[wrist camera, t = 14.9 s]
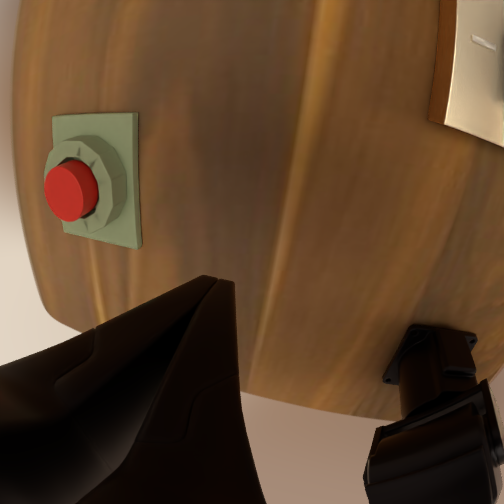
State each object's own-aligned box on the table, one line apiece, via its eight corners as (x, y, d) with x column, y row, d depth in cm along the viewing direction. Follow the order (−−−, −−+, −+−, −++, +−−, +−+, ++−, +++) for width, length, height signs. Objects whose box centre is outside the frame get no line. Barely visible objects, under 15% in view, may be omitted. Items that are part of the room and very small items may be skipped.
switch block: (142, 245, 24) (125, 261, 21) (68, 228, 25) (50, 241, 23) (138, 112, 19) (116, 116, 16) (57, 115, 20) (35, 120, 18)
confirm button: (101, 216, 21) (86, 226, 19) (63, 208, 21) (48, 218, 20) (97, 160, 19) (80, 168, 17) (57, 158, 19) (41, 165, 18)
